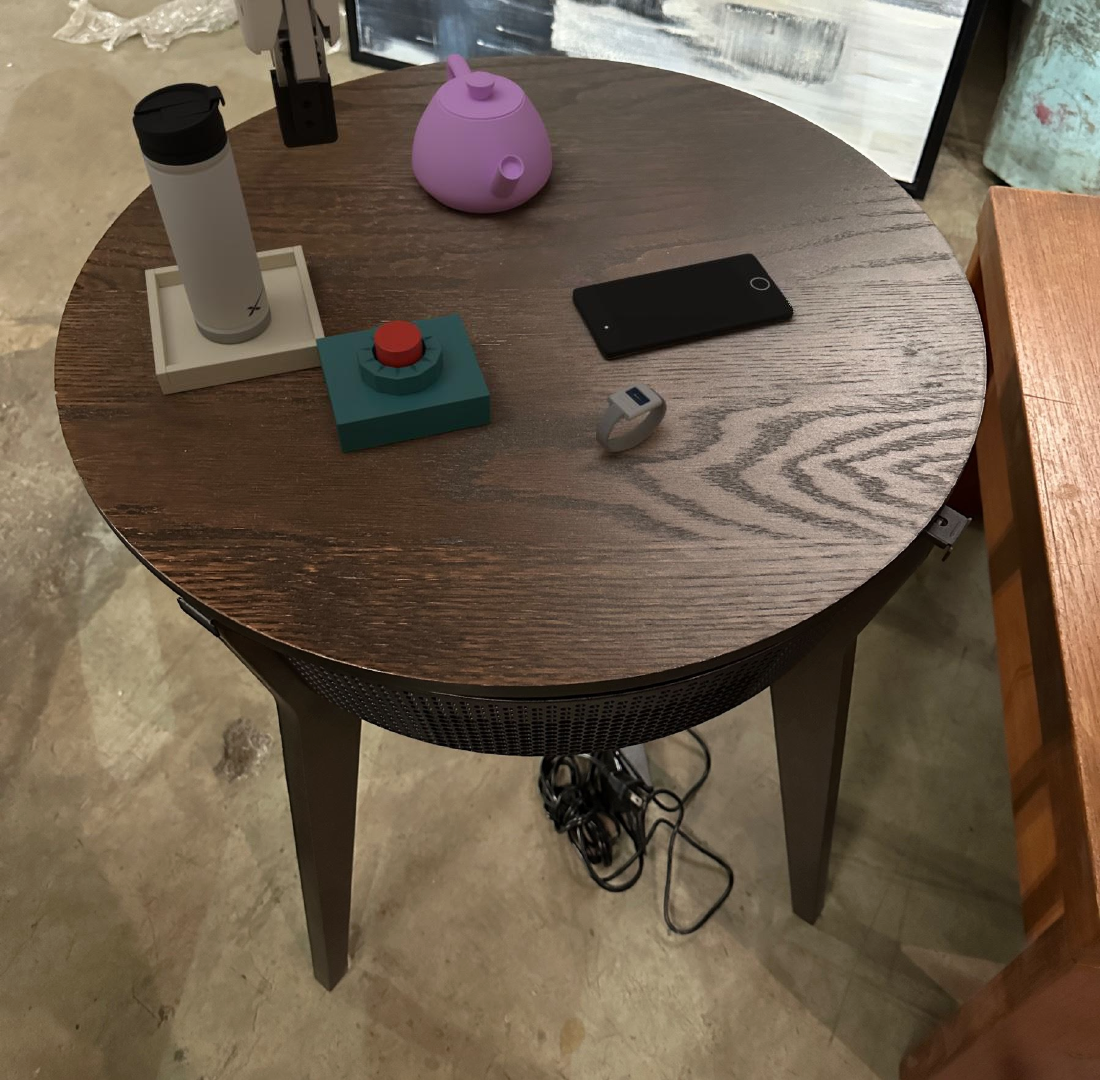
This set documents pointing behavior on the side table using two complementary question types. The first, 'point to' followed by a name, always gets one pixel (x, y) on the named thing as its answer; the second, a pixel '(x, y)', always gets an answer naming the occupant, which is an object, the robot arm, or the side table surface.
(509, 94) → the teapot
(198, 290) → the travel mug
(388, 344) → the button
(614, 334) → the cell phone
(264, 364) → the tray
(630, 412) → the wristwatch
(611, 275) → the side table surface
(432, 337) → the block
